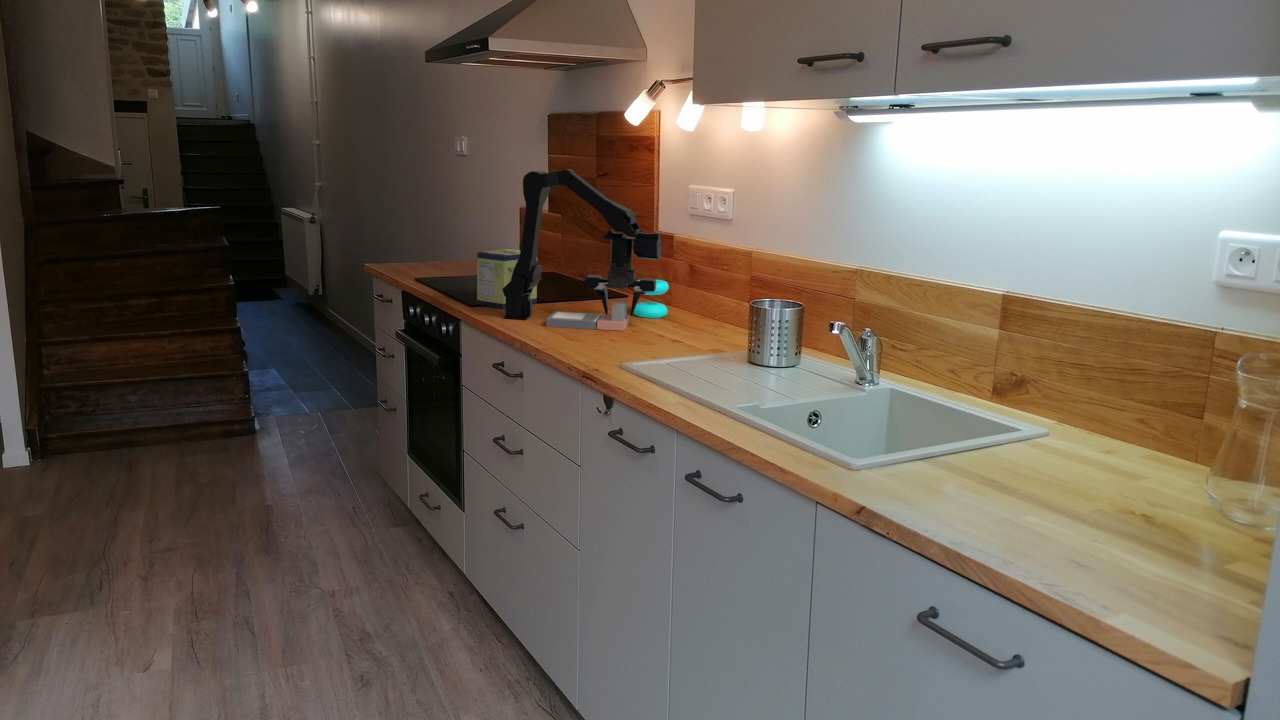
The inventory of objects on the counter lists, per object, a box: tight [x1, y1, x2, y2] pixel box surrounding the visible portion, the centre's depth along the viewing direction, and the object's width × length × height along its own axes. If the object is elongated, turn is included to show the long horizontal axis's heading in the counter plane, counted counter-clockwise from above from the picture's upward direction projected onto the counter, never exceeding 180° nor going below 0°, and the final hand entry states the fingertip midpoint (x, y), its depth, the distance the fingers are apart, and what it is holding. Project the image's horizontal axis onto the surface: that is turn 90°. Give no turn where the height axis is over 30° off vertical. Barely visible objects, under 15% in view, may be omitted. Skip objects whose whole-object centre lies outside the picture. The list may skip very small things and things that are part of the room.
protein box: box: [476, 248, 538, 310], centre depth 275 cm, size 10×16×16 cm
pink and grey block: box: [596, 300, 630, 332], centre depth 249 cm, size 7×12×6 cm, turn 174°
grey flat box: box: [545, 310, 604, 330], centre depth 251 cm, size 13×12×2 cm
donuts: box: [633, 279, 670, 319], centre depth 266 cm, size 10×10×10 cm
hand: (619, 315), depth 249 cm, fingers open, 6 cm apart
